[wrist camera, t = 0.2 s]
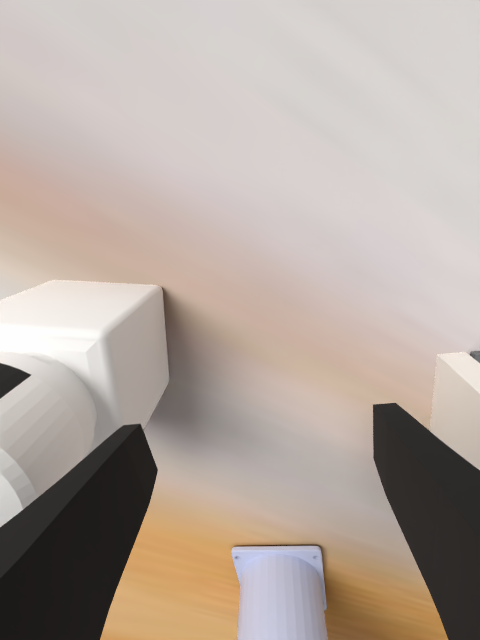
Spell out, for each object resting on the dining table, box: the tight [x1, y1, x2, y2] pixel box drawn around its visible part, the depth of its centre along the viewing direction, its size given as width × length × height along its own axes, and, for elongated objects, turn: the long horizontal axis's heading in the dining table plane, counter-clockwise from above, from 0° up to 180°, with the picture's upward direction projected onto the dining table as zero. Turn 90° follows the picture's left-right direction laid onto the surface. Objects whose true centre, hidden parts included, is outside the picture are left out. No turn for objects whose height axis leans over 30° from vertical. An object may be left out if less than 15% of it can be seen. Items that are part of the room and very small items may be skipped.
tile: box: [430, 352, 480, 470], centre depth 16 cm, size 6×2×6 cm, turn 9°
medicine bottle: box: [0, 280, 169, 527], centre depth 14 cm, size 7×7×12 cm
